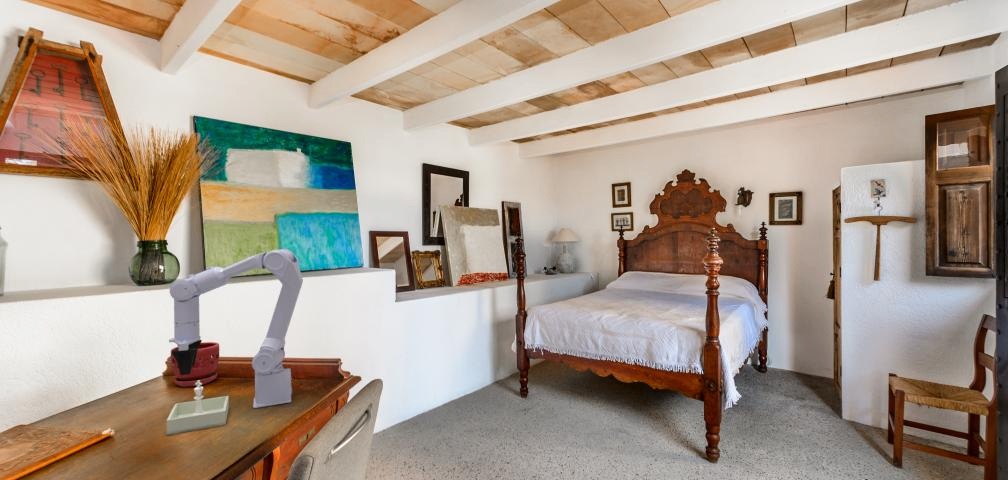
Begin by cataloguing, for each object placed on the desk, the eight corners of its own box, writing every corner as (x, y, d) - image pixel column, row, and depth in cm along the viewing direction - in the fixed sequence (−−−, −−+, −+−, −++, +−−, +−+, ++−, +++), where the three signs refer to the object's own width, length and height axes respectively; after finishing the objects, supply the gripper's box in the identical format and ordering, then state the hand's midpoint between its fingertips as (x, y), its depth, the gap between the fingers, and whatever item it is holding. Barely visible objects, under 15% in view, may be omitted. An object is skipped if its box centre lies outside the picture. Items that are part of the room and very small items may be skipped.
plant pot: (229, 376, 151) (228, 341, 151) (197, 390, 138) (197, 351, 138) (194, 374, 152) (194, 340, 152) (160, 388, 139) (159, 350, 139)
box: (228, 408, 123) (228, 395, 123) (225, 425, 112) (225, 410, 112) (175, 417, 117) (175, 403, 117) (166, 435, 107) (166, 420, 106)
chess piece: (197, 424, 111) (197, 384, 111) (182, 421, 113) (181, 382, 113) (215, 416, 116) (214, 378, 116) (200, 414, 117) (199, 376, 117)
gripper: (173, 318, 128) (174, 365, 128) (164, 328, 115) (164, 380, 115) (203, 316, 131) (203, 362, 131) (196, 325, 118) (197, 376, 118)
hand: (187, 370), depth 123 cm, fingers open, 7 cm apart
